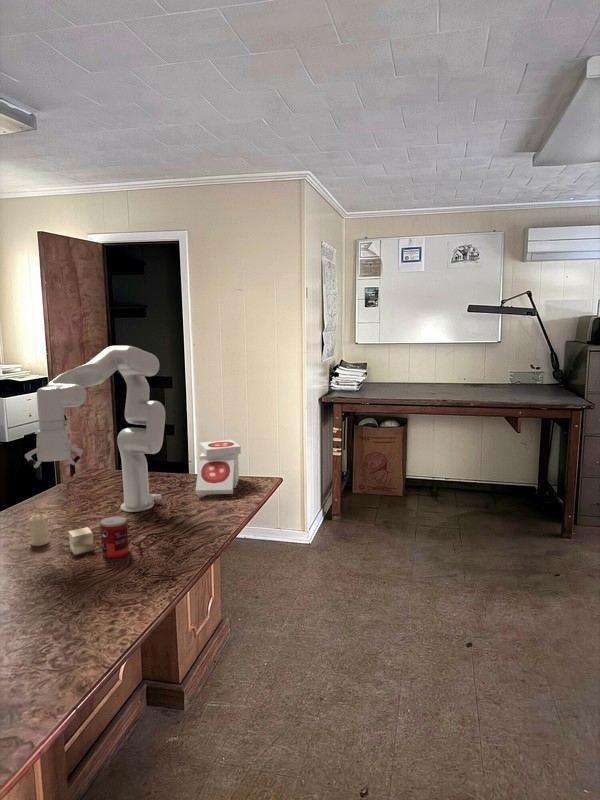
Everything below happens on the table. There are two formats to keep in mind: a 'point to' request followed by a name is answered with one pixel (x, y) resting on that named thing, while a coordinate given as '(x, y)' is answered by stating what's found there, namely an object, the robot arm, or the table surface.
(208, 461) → the pizza boxes
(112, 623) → the table surface
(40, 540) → the candle
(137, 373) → the robot arm
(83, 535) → the birch block
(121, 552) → the canned food
